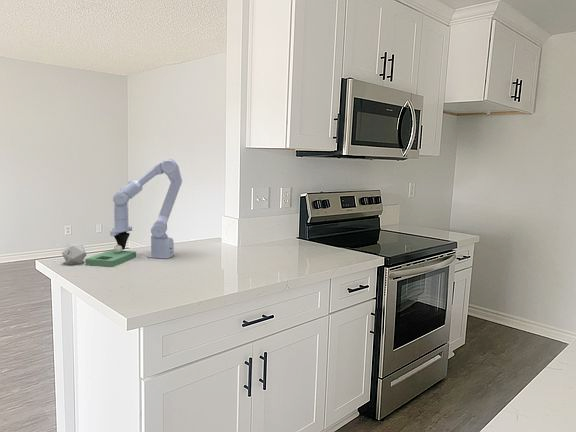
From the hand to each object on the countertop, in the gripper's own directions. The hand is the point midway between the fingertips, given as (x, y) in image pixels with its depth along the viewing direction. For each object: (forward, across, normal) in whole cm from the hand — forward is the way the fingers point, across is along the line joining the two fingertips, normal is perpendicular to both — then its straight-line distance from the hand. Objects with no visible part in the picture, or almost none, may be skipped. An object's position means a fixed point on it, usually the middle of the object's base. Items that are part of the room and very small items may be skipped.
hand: (121, 249), depth 202 cm
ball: (-1, +3, 0) cm, 3 cm away
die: (+4, +16, -12) cm, 20 cm away
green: (+3, +8, 0) cm, 9 cm away
